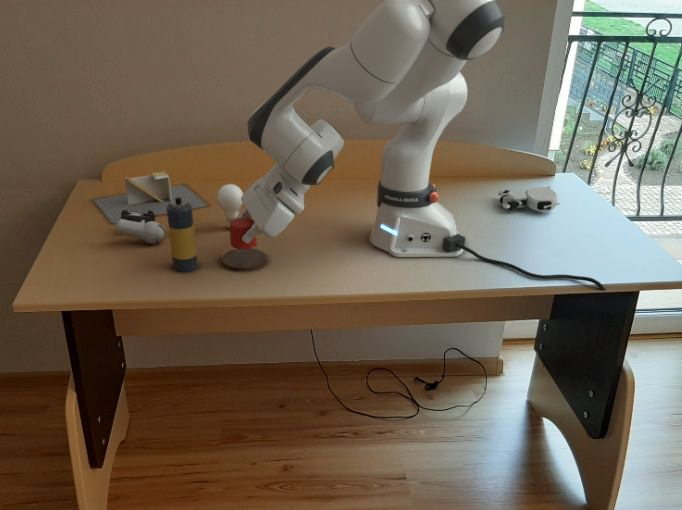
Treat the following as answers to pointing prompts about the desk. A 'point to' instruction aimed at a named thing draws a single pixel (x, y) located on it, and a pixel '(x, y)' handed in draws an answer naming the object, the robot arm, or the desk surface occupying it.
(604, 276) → the desk surface
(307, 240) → the desk surface
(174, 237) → the spray can
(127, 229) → the clip-on lamp
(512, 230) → the desk surface
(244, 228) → the cap
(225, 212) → the lightbulb
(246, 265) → the coaster
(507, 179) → the desk surface
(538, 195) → the robot toy
